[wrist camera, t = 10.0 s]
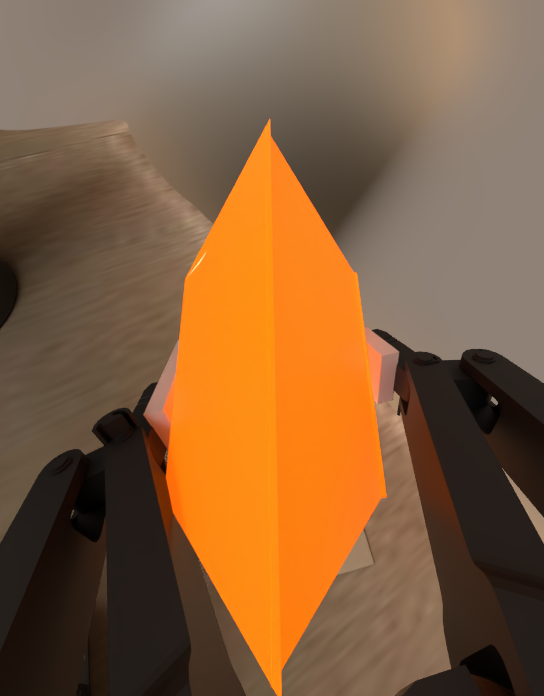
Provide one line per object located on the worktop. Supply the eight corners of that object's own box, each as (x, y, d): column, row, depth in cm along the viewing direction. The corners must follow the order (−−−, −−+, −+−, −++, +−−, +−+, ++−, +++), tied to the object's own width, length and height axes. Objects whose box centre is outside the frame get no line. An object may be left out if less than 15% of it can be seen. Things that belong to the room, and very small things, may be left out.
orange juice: (309, 351, 24) (460, 110, 5) (314, 440, 21) (673, 723, 2) (236, 353, 24) (76, 119, 5) (234, 441, 22) (-113, 730, 2)
